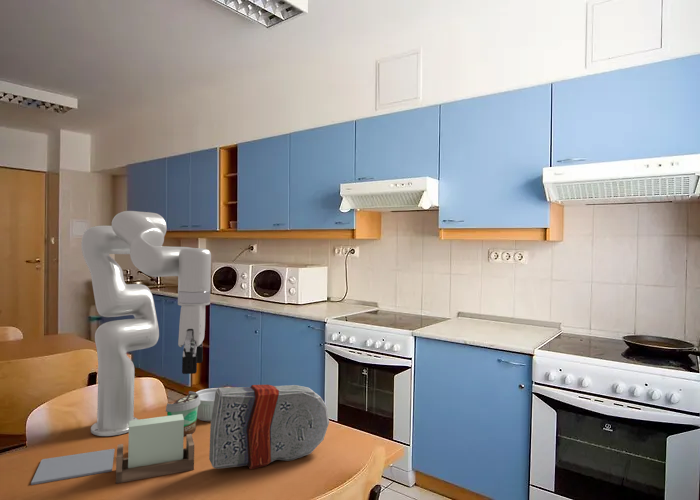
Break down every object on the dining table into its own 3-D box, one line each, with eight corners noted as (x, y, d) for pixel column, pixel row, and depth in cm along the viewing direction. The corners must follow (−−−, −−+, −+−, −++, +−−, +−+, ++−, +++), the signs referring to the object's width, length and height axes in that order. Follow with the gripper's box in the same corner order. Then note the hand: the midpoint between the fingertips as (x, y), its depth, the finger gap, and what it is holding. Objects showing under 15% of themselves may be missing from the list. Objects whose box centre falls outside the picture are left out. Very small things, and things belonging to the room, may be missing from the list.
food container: (185, 442, 124) (185, 406, 124) (164, 440, 125) (165, 404, 125) (207, 425, 136) (208, 392, 136) (189, 423, 137) (190, 390, 137)
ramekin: (197, 408, 150) (197, 387, 150) (237, 407, 152) (238, 387, 151) (187, 423, 137) (187, 401, 137) (231, 423, 138) (232, 400, 138)
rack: (117, 469, 108) (117, 444, 108) (190, 457, 115) (191, 433, 115) (115, 483, 102) (116, 457, 102) (193, 469, 109) (194, 444, 109)
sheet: (128, 470, 108) (129, 420, 108) (181, 461, 113) (182, 414, 113) (127, 478, 104) (128, 427, 104) (182, 468, 109) (183, 419, 109)
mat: (41, 461, 111) (41, 459, 111) (114, 450, 118) (114, 448, 118) (31, 484, 100) (31, 482, 100) (112, 471, 107) (112, 469, 107)
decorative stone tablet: (219, 392, 105) (334, 388, 119) (214, 384, 111) (324, 381, 124) (210, 476, 104) (327, 462, 118) (205, 464, 110) (317, 452, 124)
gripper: (184, 294, 118) (183, 359, 118) (170, 302, 101) (169, 378, 101) (214, 294, 119) (212, 358, 119) (205, 302, 102) (203, 377, 102)
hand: (192, 367), depth 110 cm, fingers open, 9 cm apart
